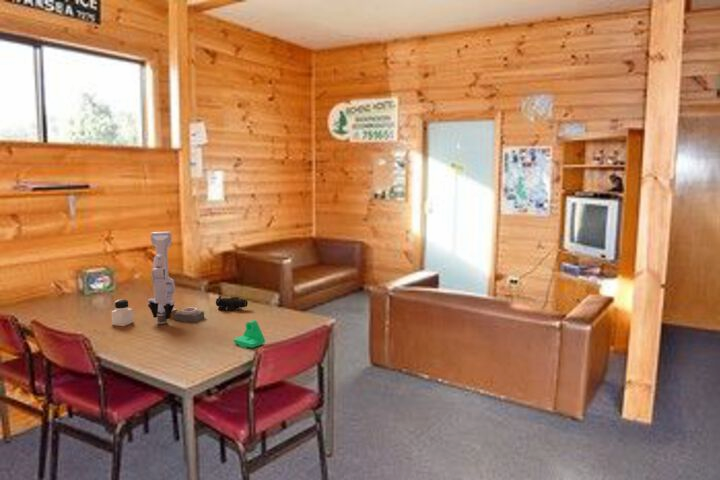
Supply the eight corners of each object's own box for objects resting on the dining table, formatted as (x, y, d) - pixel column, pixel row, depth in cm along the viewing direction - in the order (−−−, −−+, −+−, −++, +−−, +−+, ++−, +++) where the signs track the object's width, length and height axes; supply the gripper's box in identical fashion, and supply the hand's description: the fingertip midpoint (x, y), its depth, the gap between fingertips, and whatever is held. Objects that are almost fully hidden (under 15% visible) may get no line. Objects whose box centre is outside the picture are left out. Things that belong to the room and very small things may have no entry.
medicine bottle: (133, 322, 261) (132, 299, 259) (123, 326, 255) (121, 302, 253) (122, 320, 264) (121, 298, 262) (111, 325, 257) (110, 301, 255)
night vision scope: (247, 314, 282) (240, 307, 274) (217, 313, 286) (209, 305, 278) (250, 301, 286) (243, 293, 278) (221, 300, 290) (213, 292, 282)
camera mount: (233, 344, 229) (232, 322, 227) (245, 340, 235) (245, 318, 233) (252, 350, 222) (251, 327, 220) (264, 345, 228) (264, 322, 227)
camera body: (174, 320, 264) (174, 310, 264) (184, 315, 272) (184, 306, 271) (194, 322, 261) (194, 312, 260) (204, 317, 268) (203, 308, 267)
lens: (155, 324, 257) (154, 313, 256) (161, 322, 261) (160, 310, 260) (162, 325, 256) (162, 313, 255) (169, 322, 260) (168, 311, 259)
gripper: (142, 292, 255) (144, 318, 257) (166, 294, 250) (168, 321, 252) (152, 288, 261) (154, 314, 263) (176, 290, 257) (177, 317, 259)
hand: (161, 317), depth 258 cm, fingers open, 7 cm apart
